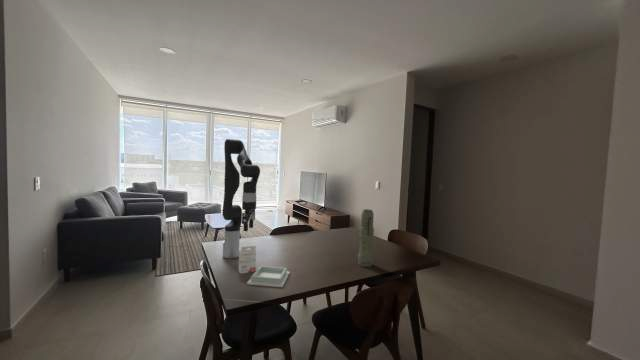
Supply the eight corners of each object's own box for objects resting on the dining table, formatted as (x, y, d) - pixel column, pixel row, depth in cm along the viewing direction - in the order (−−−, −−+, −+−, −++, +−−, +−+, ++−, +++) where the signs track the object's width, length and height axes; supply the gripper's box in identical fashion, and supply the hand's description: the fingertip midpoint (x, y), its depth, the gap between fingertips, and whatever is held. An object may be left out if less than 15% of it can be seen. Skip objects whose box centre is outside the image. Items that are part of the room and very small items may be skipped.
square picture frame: (247, 284, 132) (247, 277, 132) (258, 270, 150) (258, 264, 150) (282, 287, 130) (282, 280, 130) (289, 273, 148) (289, 267, 148)
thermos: (366, 260, 175) (368, 208, 173) (375, 267, 164) (378, 211, 162) (354, 261, 172) (357, 208, 170) (363, 268, 161) (366, 211, 159)
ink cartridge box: (253, 268, 152) (254, 243, 152) (255, 271, 148) (256, 246, 147) (238, 270, 148) (239, 244, 148) (239, 274, 144) (240, 247, 143)
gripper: (247, 198, 154) (246, 226, 155) (237, 201, 140) (236, 232, 140) (259, 199, 153) (258, 227, 154) (251, 202, 139) (250, 232, 140)
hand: (248, 229), depth 147 cm, fingers open, 8 cm apart
